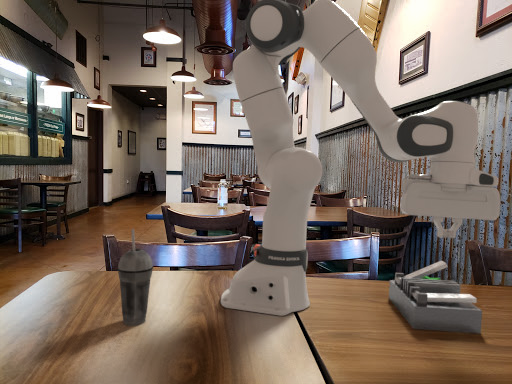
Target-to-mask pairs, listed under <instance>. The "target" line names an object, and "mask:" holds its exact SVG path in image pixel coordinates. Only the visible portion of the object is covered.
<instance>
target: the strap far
mask: <svg viewBox="0 0 512 384" xmlns="http://www.w3.org/2000/svg"><path fill="white" fill-rule="evenodd" d="M446 268H448V265H447V262H445V261H443V260H439V261H437V262H434V263H433V264H430V265H427V266H425V267H423V268H420V269H418V270H416V271H412V272H411V273H409V274H406V275H404V277H399V276H398V277H396V278H395V277H394V280H395V281H396V283H397V284H398V285H399V286H400V278H415V279H421V278H423V277H425V276H429V275H431V274H435V273H438V272H439V271H442V270H444V269H446Z"/></svg>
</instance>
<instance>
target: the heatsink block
mask: <svg viewBox="0 0 512 384" xmlns="http://www.w3.org/2000/svg"><path fill="white" fill-rule="evenodd" d="M398 276H399V277H404V276H405V273H403V272H395V275H394V279H392V280H391V279H389V286H388V287H389V289H388V299H389V301H391V303H392V304H393V306H394V307H395V308H396V309H397V311H398V312H399V313H400V314H401V315H402V317H403V318H404V319H405V320H406V321H407V323H408V324H409V325H410V327H412V329H414V330H427V331H440V332H451V333H452V332H453V333H465V334H466V333H468V334H481V332H482V319H483V318H482V317H483V310H482V309H480V308H479V307H477V306H476V305H475V304H474V303H459V302H427V297H428V294H426V293H444V294H461V284H458V282H456V281H455V280H444V279H440V280H431V279H421V278H420V279H415V278H400V286H399V285H398V284H397V283H396V281H395V278H396V277H398ZM415 290H417V291H419V292H420V293H417V295H416V299H415V298H414V297H413V296H412V292H413V291H415Z"/></svg>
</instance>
